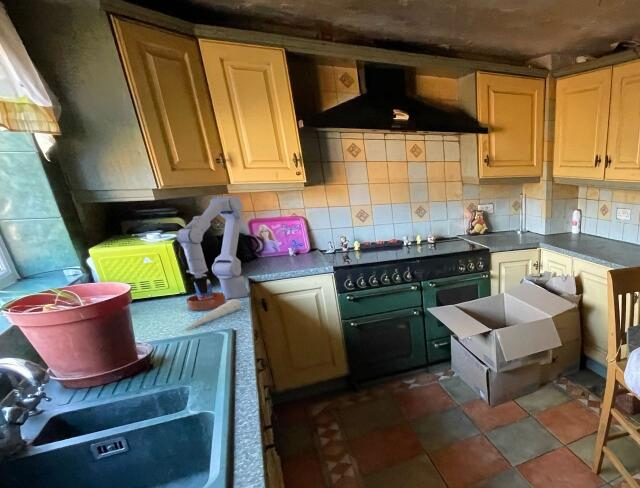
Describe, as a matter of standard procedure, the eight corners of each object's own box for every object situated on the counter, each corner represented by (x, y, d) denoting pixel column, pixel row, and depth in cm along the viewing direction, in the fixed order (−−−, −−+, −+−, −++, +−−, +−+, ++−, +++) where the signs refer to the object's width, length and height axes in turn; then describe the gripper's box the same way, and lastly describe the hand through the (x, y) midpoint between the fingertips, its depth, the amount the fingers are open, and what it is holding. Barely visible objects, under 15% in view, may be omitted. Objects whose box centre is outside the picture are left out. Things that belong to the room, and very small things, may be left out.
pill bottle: (206, 300, 172) (199, 277, 168) (195, 299, 173) (188, 276, 169) (217, 296, 177) (211, 273, 173) (206, 295, 178) (200, 273, 174)
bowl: (226, 299, 184) (224, 290, 183) (226, 307, 174) (224, 298, 173) (190, 304, 178) (187, 295, 176) (188, 313, 168) (185, 303, 166)
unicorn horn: (177, 329, 151) (173, 317, 150) (234, 309, 173) (231, 297, 171) (187, 331, 150) (183, 318, 149) (243, 310, 172) (240, 298, 170)
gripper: (184, 256, 173) (193, 288, 178) (181, 263, 161) (191, 297, 166) (205, 254, 176) (213, 286, 181) (203, 261, 165) (212, 294, 170)
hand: (204, 291), depth 174 cm, fingers closed on pill bottle, 5 cm apart
